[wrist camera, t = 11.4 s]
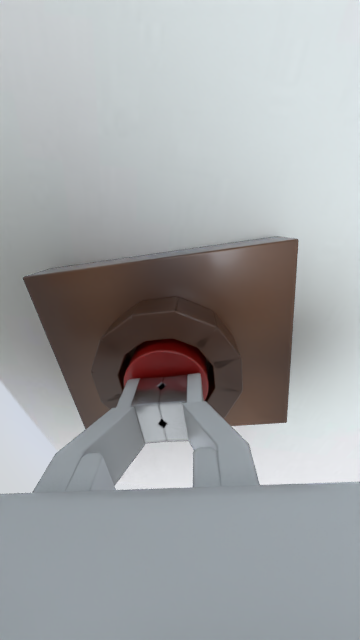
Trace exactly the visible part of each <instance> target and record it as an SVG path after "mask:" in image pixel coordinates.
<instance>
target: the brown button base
mask: <svg viewBox="0 0 360 640" xmlns="http://www.w3.org/2000/svg"><path fill="white" fill-rule="evenodd" d="M297 253H298V239H294V238H286V237H278V236H277V237H270V238H263V239H256V240H249V241H242V242H235V243H228V244H221V245H214V246H207V247H200V248H192V249H185V250H178V251H171V252H164V253H157V254H150V255H143V256H136V257H129V258H122V259H114V260H107V261H100V262H93V263H86V264H79V265H72V266H65V267H58V268H51V269H47V270H44V271H41V272H38V273H34V274H31V275H28V276H25V277H23V280H24V282H25V285H26V287H27V289H28V292H29V294H30V297H31V299H32V301H33V304H34V306H35V309H36V311H37V313H38V316H39V318H40V321H41V323H42V325H43V328H44V330H45V333H46V335H47V337H48V340H49V342H50V345H51V347H52V349H53V352H54V354H55V357H56V359H57V361H58V364H59V366H60V369H61V371H62V373H63V376H64V378H65V381H66V383H67V385H68V388H69V390H70V393H71V395H72V397H73V400H74V402H75V405H76V407H77V409H78V412H79V414H80V417H81V419H82V421H83V424H84V426H85V429H87V428H88V427H89V426H91V425H92V424H93V423H94V422H96V421H97V420H98V419H99V418H101V417H102V416H103V415H104V414H106V413H107V412H108V411H109V410H111V409H112V408H116V406H117V404H118V402H119V399H120V397H121V394H122V392H123V390H124V375H125V372H126V370H127V367H128V365H129V363H130V361H131V358H132V356H133V354H134V352H135V350H136V348H137V346H139V345H140V344H142V343H143V342H144V341H152V340H162V339H172V338H173V339H176V340H178V341H181V342H184V343H186V344H189V345H192V346H194V347H197V348H198V349H199V350H200V352H201V353H202V354H203V355H204V356H205V358H206V364H207V373H208V382H209V389H208V394H207V397H206V399H205V401H206V402H207V403H208V404H209V405H210V406H211V407H212V408H213V409H214V410H215V411H216V412H217V413H218V414H219V415H220V416H221V417H222V418H223V419H224V420H225V421H226V422H227V423H228V424H229V425H230V426H240V425H256V424H272V423H286V422H287V410H288V394H289V379H290V363H291V347H292V331H293V316H294V300H295V284H296V269H297Z"/></svg>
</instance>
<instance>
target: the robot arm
mask: <svg viewBox="0 0 360 640" xmlns="http://www.w3.org/2000/svg"><path fill="white" fill-rule="evenodd" d="M169 441H189V443H190V444H191V446H192V448H193V449H194V452H193V488H164V489H135V490H116V489H115V487H114V486H115V484H116V483H117V482H118V480H119V479H120V478H121V476H122V475H123V474H124V472H125V471H126V469H127V468H128V467H129V465H130V464H131V463H132V461H133V460H134V459H135V457H136V456H137V455H138V453H139V452H140V451H141V449H142V448H143V447H144V445H145V444H144V443H156V442H169ZM0 640H360V482H338V483H308V484H279V485H260V484H259V481H258V477H257V473H256V469H255V465H254V462H253V458H252V454H251V450H250V446H249V444H248V443H247V442H246V441H245V440H244V439H243V438H242V437H241V436H240V435H239V434H238V433H237V432H236V431H235V430H234V429H233V428H232V427H231V426H230V425H229V424H228V423H227V422H226V421H225V420H224V419H223V418H222V417H221V416H220V415H219V414H218V413H217V412H216V411H215V410H214V409H213V408H212V407H211V406H210V405H209V404H208V403H207V402H206V401H204V398H203V390H202V381H201V374H200V373H195V374H188V375H179V376H168V377H150V378H136V379H129V380H128V381H127V383H126V385H125V387H124V390H123V392H122V394H121V397H120V399H119V402H118V404H117V406H116V408H112V409H111V410H109V411H108V412H107V413H106V414H104V415H103V416H102V417H101V418H99V419H98V420H97V421H96V422H94V423H93V424H92V425H91V426H89V427H88V428H87V429H86V430H84V431H83V432H82V433H81V434H79V435H78V436H77V437H76V438H75V439H73V440H72V441H71V442H70V443H68V444H67V445H66V446H65V447H63V448H62V449H61V450H60V451H58V452H57V453H56V454H55V456H54V457H53V459H52V461H51V462H50V464H49V466H48V467H47V469H46V471H45V472H44V474H43V476H42V477H41V479H40V481H39V482H38V484H37V486H36V487H35V489H34V491H33V493H17V494H0Z"/></svg>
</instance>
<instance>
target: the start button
mask: <svg viewBox="0 0 360 640" xmlns="http://www.w3.org/2000/svg"><path fill="white" fill-rule="evenodd" d="M195 373H200V374H201V381H202V390H203V398H204V401H205V399H206V397H207V394H208V389H209V382H208V373H207V364H206V358H205V356H204V355H203V354H202V353H201V352H200V350H199V349H198V348H197V347H194V346H192V345H189V344H186V343H184V342H181V341H178V340H176V339H173V338H172V339H162V340H152V341H144V342H143V343H142V344H140V345H139V346H137V348H136V350H135V352H134V354H133V356H132V358H131V361H130V363H129V365H128V367H127V370H126V372H125V375H124V387H125V385H126V383H127V381H128V380H129V379H136V378H150V377H168V376H179V375H188V374H195Z"/></svg>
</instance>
